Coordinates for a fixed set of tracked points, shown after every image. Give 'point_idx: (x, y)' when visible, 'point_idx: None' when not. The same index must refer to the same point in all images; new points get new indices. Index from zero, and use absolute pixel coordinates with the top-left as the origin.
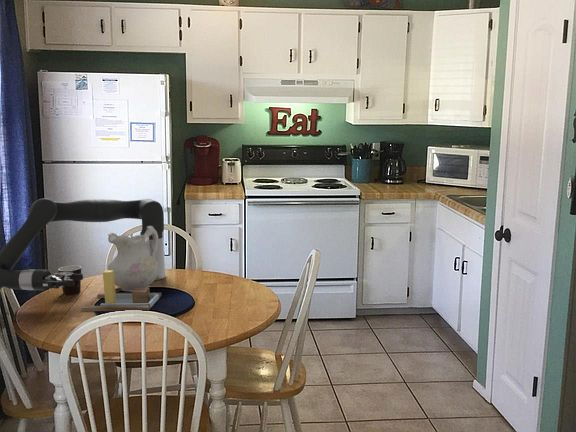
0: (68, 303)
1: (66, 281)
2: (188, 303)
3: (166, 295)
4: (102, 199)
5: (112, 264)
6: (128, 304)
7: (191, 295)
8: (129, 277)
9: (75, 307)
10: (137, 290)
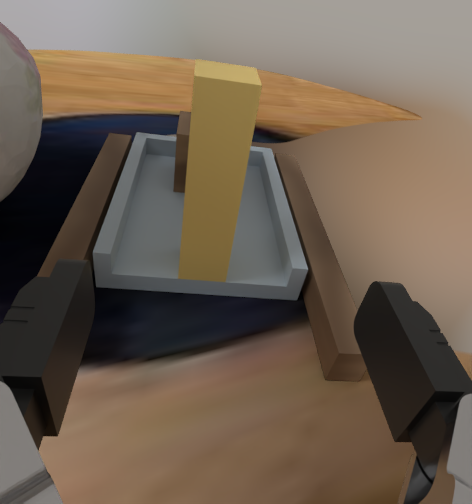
0: None
1: (429, 352)
2: None
3: (67, 148)
4: None
5: None
6: (282, 188)
7: (92, 114)
8: (38, 120)
9: (220, 489)
10: None
